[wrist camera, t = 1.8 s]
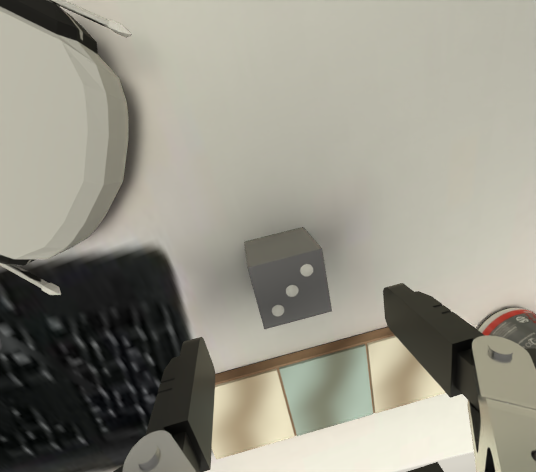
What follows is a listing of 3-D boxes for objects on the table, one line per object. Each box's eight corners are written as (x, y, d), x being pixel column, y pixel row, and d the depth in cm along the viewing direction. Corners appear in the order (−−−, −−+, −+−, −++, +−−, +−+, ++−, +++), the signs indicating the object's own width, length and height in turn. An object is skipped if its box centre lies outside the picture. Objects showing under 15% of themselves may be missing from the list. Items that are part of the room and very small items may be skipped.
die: (302, 226, 18) (322, 249, 14) (312, 278, 19) (332, 311, 15) (244, 241, 17) (247, 268, 14) (258, 292, 19) (264, 330, 15)
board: (442, 311, 21) (452, 319, 20) (441, 383, 24) (450, 393, 23) (187, 381, 20) (185, 393, 19) (216, 448, 23) (216, 461, 22)
